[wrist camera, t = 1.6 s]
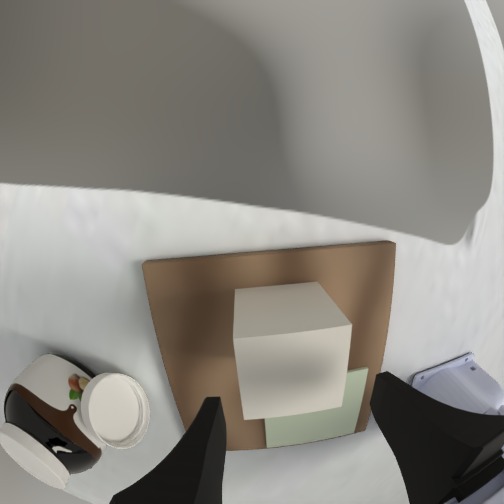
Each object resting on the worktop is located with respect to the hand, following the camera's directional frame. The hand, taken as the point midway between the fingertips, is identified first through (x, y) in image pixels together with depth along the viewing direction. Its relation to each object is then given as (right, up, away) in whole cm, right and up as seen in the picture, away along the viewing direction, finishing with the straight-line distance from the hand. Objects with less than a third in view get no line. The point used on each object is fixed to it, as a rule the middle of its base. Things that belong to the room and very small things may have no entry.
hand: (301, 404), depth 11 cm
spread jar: (-18, -6, +11) cm, 22 cm away
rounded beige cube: (0, +2, +8) cm, 8 cm away
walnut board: (0, -3, +10) cm, 11 cm away
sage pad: (+3, -8, +10) cm, 13 cm away
